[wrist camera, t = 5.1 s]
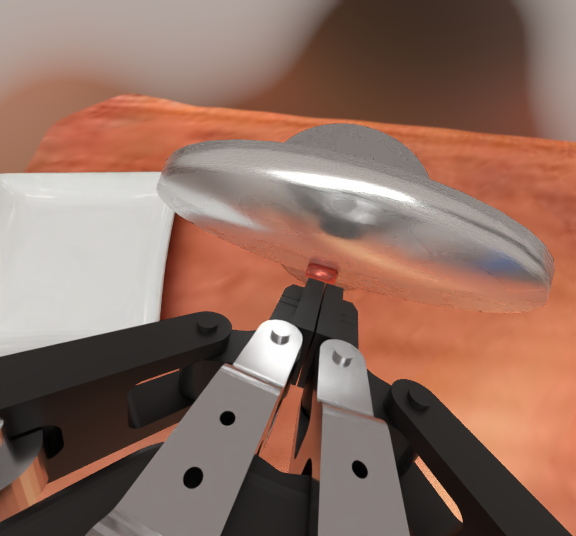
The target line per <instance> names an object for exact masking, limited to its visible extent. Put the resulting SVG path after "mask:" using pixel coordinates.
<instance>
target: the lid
mask: <svg viewBox="0 0 576 536" xmlns="http://www.w3.org/2000/svg"><path fill="white" fill-rule="evenodd" d="M156 190H157V193H158V196H159V197H160V198H161V199H162V201H163V202H164V203H165V204H166V205H167V206H168V207H169V208H170V209H172V210H173V211H174V212H176V213H177V214H178V215H180V216H181V217H183V218H184V219H186V220H187V221H189V222H191V223H192V224H194V225H196V226H197V227H199V228H201V229H203V230H205V231H207V232H209V233H210V234H212V235H214V236H216V237H218V238H220V239H223V240H225V241H227V242H229V243H231V244H233V245H236V246H238V247H240V248H242V249H245V250H247V251H250V252H252V253H254V254H257V255H259V256H262V257H264V258H267V259H270V260H272V261H275V262H278V263H280V264H283V265H286V266H289V267H291V268H293V269H296V270H299V271H302V272H305V276H306V277H308V278H309V277H310V278H313V279H316V280H319V281H322V282H325V284H326V283H329V284H332V285H335V282H337V283H340V284H343V285H346V286H352V287H355V288H359V289H362V290H366V291H370V292H374V293H378V294H382V295H386V296H390V297H395V298H399V299H403V300H408V301H413V302H418V303H423V304H428V305H433V306H439V307H445V308H452V309H459V310H467V311H476V312H489V313H520V312H527V311H533V310H536V309H538V308H540V307H543V306H544V305H545V303H546V302H547V301H548V298H549V293H550V289H551V284H552V280H553V275H554V271H555V269H554V259H553V257H552V255H551V254H550V252H549V250H548V249H547V247H546V245H545V244H543V243H542V242H541V241H540V240H539V239H538V238H537V237H536V236H535V235H534V234H533V233H532V232H531V231H529V230H528V229H527V228H526V227H524V226H522V225H521V224H519V223H518V222H516V221H515V220H513V219H512V218H510V217H509V216H507V215H506V214H504V213H503V212H501V211H499V210H497V209H495V208H493V207H491V206H489V205H487V204H485V203H483V202H481V201H479V200H477V199H475V198H473V197H471V196H469V195H467V194H465V193H463V192H461V191H458V190H456V189H453V188H451V187H448V186H446V185H443V184H441V183H438V182H435V181H433V180H430V179H428V178H425V177H423V176H420V175H418V174H414V173H411V172H408V171H405V170H401V169H398V168H395V167H392V166H388V165H385V164H382V163H378V162H375V161H372V160H369V159H365V158H360V157H356V156H351V155H347V154H342V153H338V152H334V151H329V150H325V149H320V148H315V147H308V146H301V145H294V144H287V143H281V142H273V141H256V140H239V139H235V140H216V141H205V142H201V143H196V144H191V145H187V146H185V147H183V148H181V149H179V150H176V151H174V152H173V153H172V154H171V155H170V156H169V158H168V159H167V161H166V163H165V166H164V168H163V171H162V173H161V176H160V178H159V181H158V183H157V188H156Z"/></svg>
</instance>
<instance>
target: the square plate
mask: <svg viewBox="0 0 576 536" xmlns="http://www.w3.org/2000/svg"><path fill="white" fill-rule="evenodd" d="M161 173H162V172H87V173H7V174H0V357H1V356H5V355H10V354H14V353H19V352H23V351H28V350H32V349H37V348H41V347H46V346H50V345H54V344H59V343H63V342H68V341H72V340H77V339H81V338H86V337H90V336H95V335H99V334H104V333H108V332H112V331H117V330H121V329H126V328H130V327H135V326H139V325H144V324H148V323H153V322H157V321H160V312H161V302H162V292H163V283H164V273H165V266H166V259H167V253H168V247H169V242H170V236H171V231H172V226H173V220H174V216H175V212H174V211H173V210H172V209H170V208H169V207H168V206H167V205H166V204H165V203H164V202H163V201H162V199H161V198H160V197H159V196H158V193H157V190H156V188H157V183H158V181H159V178H160V176H161Z"/></svg>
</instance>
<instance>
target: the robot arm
mask: <svg viewBox="0 0 576 536" xmlns="http://www.w3.org/2000/svg"><path fill="white" fill-rule="evenodd" d="M324 285H325V282H322V281H319V280H316V279H313V278H310V277H309V278H308V280H307V283H306V286H305V288H303V287H300V286H297V285H294V284H293V285H291V286H289V287H287V288H285V290H284V292H283V294H282V296H281V298H280V300H279V302H278V304H277V306H276V308H275V310H274V312H273V314H272V316H271V318H270V320H269V321H266V322H264V323H262V324H261V325H260V326H259V328H258V329H257V330H254V331H239V330H232V325H231V323H230V321H229V320H228V319H227V318H226V317H225V316H223V315H221V314H218V313H215V312H207V311H205V312H197V313H193V314H188V315H184V316H179V317H175V318H170V319H166V320H161V321H157V322H153V323H148V324H144V325H139V326H135V327H130V328H126V329H121V330H117V331H112V332H108V333H104V334H99V335H95V336H90V337H86V338H81V339H77V340H72V341H68V342H63V343H59V344H54V345H50V346H46V347H41V348H37V349H32V350H28V351H23V352H19V353H14V354H10V355H5V356H1V357H0V536H572V535H571V534H570V533H569V532H568V531H567V530H566V529H565V528H564V527H563V526H562V525H561V524H560V523H559V522H558V521H557V520H556V519H555V517H554V516H553V515H552V514H551V513H550V512H549V511H548V510H547V509H546V508H545V507H544V506H543V505H542V504H541V503H540V502H539V501H538V500H537V499H536V498H535V497H534V496H533V495H532V494H531V493H530V492H529V491H528V490H527V489H526V488H525V487H524V486H523V485H522V484H521V483H520V482H519V481H518V480H517V479H516V478H515V477H514V476H513V475H512V474H511V473H510V472H509V471H508V470H507V469H506V468H505V467H504V466H503V464H502V463H501V462H500V461H499V460H498V459H497V458H496V457H495V456H494V455H493V454H492V453H491V452H490V451H489V450H488V449H487V448H486V447H485V446H484V445H483V444H482V443H481V442H480V441H479V440H478V439H477V438H476V437H475V436H474V435H473V434H472V433H471V432H470V431H469V430H468V429H467V428H466V427H465V426H464V425H463V424H462V423H461V422H460V421H459V420H458V419H457V418H456V417H455V416H454V415H453V414H452V413H451V412H450V410H449V409H448V408H447V407H446V406H445V405H444V404H443V403H442V402H441V401H440V400H439V399H438V398H437V397H436V396H435V395H434V394H433V393H432V392H431V391H429V390H428V389H427V388H425V387H424V386H422V385H420V384H419V383H416V382H414V381H411V380H407V379H400V380H397V381H395V382H394V383H393V384H392V386H391V385H389V384H388V383H386V382H384V381H383V380H381V379H379V378H378V377H376V376H375V375H373V374H372V373H371V372H370V371H369V370H368V369H367V368H366V362H365V359H364V357H363V355H362V354H361V352H360V351H359V350H358V311H357V310H356V308H355V306H354V305H353V303H350V302H347V301H344V300H343V288H341V287H338V286H335V285H332V284H329V283H326V285H325V288H324ZM323 290H324V291H323ZM301 368H302V369H301ZM176 369H179V371H176V372H173V373H170V374H167V375H165V376H162V377H159V378H156V379H153V380H150V381H147V382H145V383H142V384H139V385H136V384H138V383H139V382H141V381H144V380H147V379H150V378H153V377H155V376H158V375H161V374H164V373H167V372H170V371H173V370H176ZM300 370H301V373H300ZM299 373H300V377H299V381H298V385H297V386H298V387H301V388H304V390H303V395H302V398H301V401H300V403H299V406H298V410H297V417H296V424H295V432H294V439H293V447H292V454H291V461H290V468H289V473H283V472H280V471H278V470H277V469H275V468H274V467H273V466H271V465H270V464H269V463H267V462H266V461H265V460H263V459H262V458H261V456H262V454H263V451H264V449H265V446H266V444H267V441H268V438H269V436H270V433H271V431H272V428H273V426H274V423H275V420H276V418H277V415H278V413H279V410H280V408H281V405H282V402H283V399H284V398H285V397H286V396H287V393H288V391H289V388H290V385H291V384H292V385H296V382H297V379H298V376H299ZM135 385H136V386H135ZM178 422H179V424H178V425H177V426H176V428H175V429H174V430H173V432H172V433H171V434H170V436H169V437H168V438H167V440H166V441H165V442H161V443H157V444H154V445H150V446H148V447H145V448H143V449H140V450H138V451H136V452H134V453H132V454H130V455H128V456H126V457H124V458H122V459H120V460H118V461H116V462H114V463H112V464H110V465H109V466H107V467H105V468H103V469H101V470H99V471H97V472H95V473H93V474H91V475H89V476H87V477H86V478H84V479H82V480H80V481H78V482H76V483H74V484H72V485H70V486H68V487H66V488H64V489H63V490H61V491H59V492H57V493H55V494H53V495H51V496H49V497H47V498H45V499H43V500H41V501H40V502H38V503H36V504H34V505H32V504H33V503H34V502H35V501H36V500H37V498H38V497H39V496H40V494H41V493H42V491H43V490H44V488H45V486H46V484H48V483H50V482H52V481H54V480H56V479H59V478H61V477H63V476H65V475H67V474H69V473H71V472H73V471H76V470H78V469H80V468H82V467H84V466H86V465H88V464H91V463H93V462H95V461H97V460H99V459H101V458H103V457H105V456H108V455H110V454H112V453H114V452H116V451H118V450H120V449H123V448H125V447H127V446H129V445H131V444H133V443H135V442H137V441H140V440H142V439H144V438H146V437H148V436H150V435H152V434H155V433H157V432H159V431H161V430H163V429H165V428H167V427H169V426H172V425H174V424H176V423H178ZM418 456H420V458H421V459H422V460H423V462H424V463H425V464H426V466H427V467H428V468H429V469H430V471H431V472H432V473H433V475H434V476H435V477H436V478H437V480H438V481H439V482H440V484H441V485H442V486H443V488H444V489H445V490H446V491H447V493H448V494H449V495H450V497H451V498H452V499H453V501H454V502H455V503H456V505H457V507H458V508H459V510H460V513H461V515H462V519H463V523H462V522H461V521H459V520H458V519H457V518H456V517H455V516H454V514H453V513H452V512H451V510H450V509H449V508H448V506H447V505H446V504H445V502H444V501H443V500H442V498H441V497H440V496H439V494H438V493H437V492H436V490H435V489H434V488H433V486H432V485H431V484H430V482H429V481H428V480H427V478H426V477H425V475H424V474H423V473H422V471H421V470H420V469H419V467H418V466H417V465H416V463H415V462H414V461H415V460H416V459H417V457H418ZM31 505H32V506H31Z"/></svg>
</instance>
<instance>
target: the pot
mask: <svg viewBox="0 0 576 536" xmlns="http://www.w3.org/2000/svg"><path fill="white" fill-rule="evenodd" d="M285 143H287V144H294V145H301V146H308V147H315V148H320V149H325V150H329V151H334V152H338V153H342V154H347V155H351V156H356V157H360V158H365V159H369V160H372V161H375V162H378V163H382V164H385V165H388V166H392V167H395V168H398V169H401V170H405V171H408V172H411V173H414V174H418V175H420V176H423V177H425V178H428V179H429V176H428V174H427V172H426V170H425V168H424V167H423V165H422V164H421V162H420V161H419V160H418V158H417V157H416V156H415V155H414V154H413V153H412V152H411V151H410V150H409V149H408V148H407V147H406V146H404V145H403V144H402V143H401V142H399V141H398V140H396V139H395V138H393V137H391V136H389V135H387V134H385V133H383V132H380V131H378V130H376V129H372V128H369V127H365V126H360V125H355V124H326V125H321V126H316V127H313V128H310V129H307V130H305V131H302V132H300V133H298V134H296V135H295V136H293V137H291V138H290V139H288V140H287V141H286V142H285ZM281 265H282V266H283V267H284V268H285V269H286V270H287V271H288V272H289V273H290V274H291V275H293V276H294V277H295V278H297V279H298V280H300V281H302V282H304V283H307V280H308V277H306V276H305V272H302V271H299V270H296V269H293V268H291V267H289V266H286V265H283V264H281ZM325 285H326V284H325ZM325 285H324V288H325ZM335 286H338V287H341V288H343V291H347V290H354V289H358V288H355V287H352V286H346V285H343V284H340V283H337V282H335Z"/></svg>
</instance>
